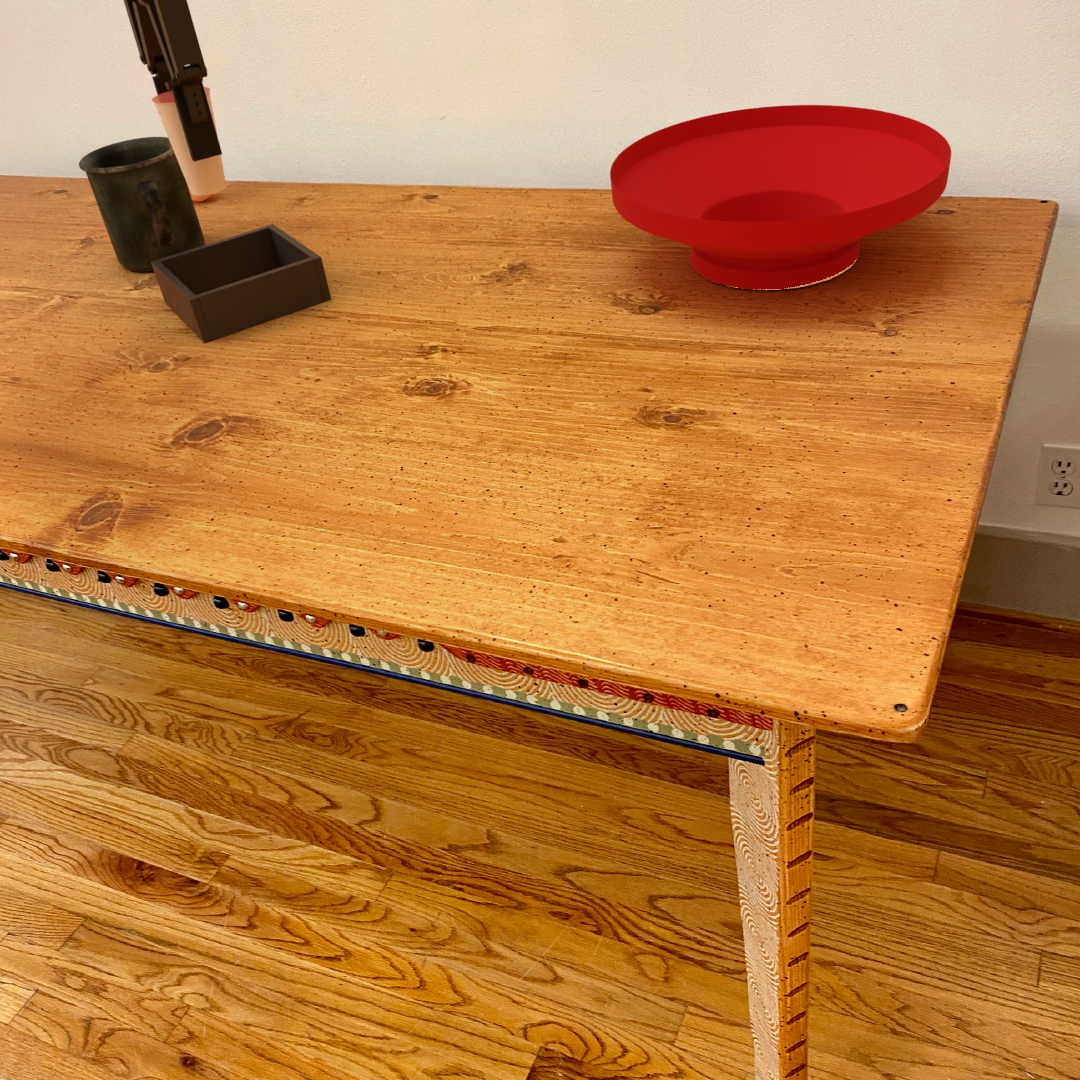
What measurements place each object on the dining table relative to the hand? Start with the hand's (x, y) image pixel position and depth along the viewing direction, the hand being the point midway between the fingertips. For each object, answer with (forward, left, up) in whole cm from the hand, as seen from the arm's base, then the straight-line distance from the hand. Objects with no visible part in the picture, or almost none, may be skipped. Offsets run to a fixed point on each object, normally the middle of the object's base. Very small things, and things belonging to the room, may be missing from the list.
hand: (197, 150), depth 103 cm
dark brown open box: (0, 0, -16) cm, 16 cm away
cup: (0, 0, -4) cm, 4 cm away
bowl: (+43, -32, -16) cm, 56 cm away
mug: (-3, +19, -16) cm, 25 cm away
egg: (+7, +37, -16) cm, 41 cm away
